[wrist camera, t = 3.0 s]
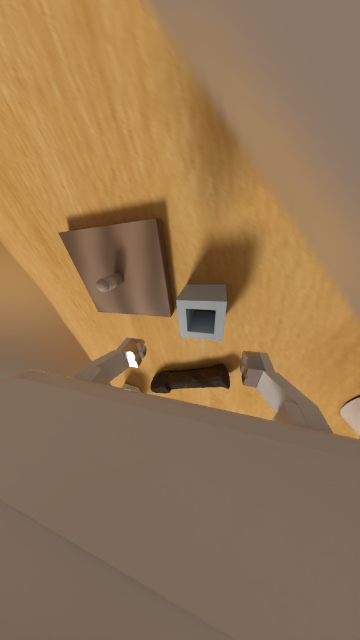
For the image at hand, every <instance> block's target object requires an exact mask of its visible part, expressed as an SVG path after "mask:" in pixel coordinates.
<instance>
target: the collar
mask: <svg viewBox="0 0 360 640" xmlns="http://www.w3.org/2000/svg"><path fill="white" fill-rule="evenodd" d="M176 304H177V312H178V321H179V329H180V337H188V338H197V339H206V340H215V341H222V340H223V332H224V324H225V315H226V307H227V289H226V284H186V286H185V287H184V289H183V290H182V292H181V293H180V295H179V296H178V298H177V299H176ZM194 309H202V310H216V312H203V311H194Z"/></svg>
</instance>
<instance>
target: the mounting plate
mask: <svg viewBox="0 0 360 640" xmlns="http://www.w3.org/2000/svg"><path fill="white" fill-rule="evenodd" d="M59 235H60V237H61V239H62V241H63V243H64V245H65V247H66V249H67V251H68V253H69V255H70V257H71V259H72V261H73V263H74V265H75V267H76V269H77V271H78V273H79V275H80V277H81V279H82V281H83V282H84V284H85V286H86V288H87V290H88V292H89V294H90V296H91V298H92V300H93V302H94V304H95V306H96V308H97V310H98V312H108V313H122V314H136V315H150V316H164V317H171V316H172V314H173V313H174V310H173V302H172V295H171V288H170V280H169V273H168V266H167V258H166V251H165V243H164V236H163V229H162V221H161V219H157V218H155V219H148V220H141V221H135V222H128V223H121V224H114V225H108V226H101V227H94V228H87V229H80V230H74V231H67V232H60V233H59Z"/></svg>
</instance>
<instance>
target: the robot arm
mask: <svg viewBox="0 0 360 640" xmlns="http://www.w3.org/2000/svg"><path fill="white" fill-rule="evenodd" d="M144 343H145V342H144V340H141V339H134V338H126V339H125V341H124V342H123V343H122V344H121V345H120V346H119V347H118V348H117V350H114V351H112V352H110V353H108V354H106V355H104V356H102V357H100V358H98V359H96V360H94V361H92V362H90V363H88V364H86V365H85V366H84V367H83V368H82V369H81V370H80V371H79V372H78V373H77V374H76V375H75V376H74V377H73V378H72V377H67V376H63V375H58V374H54V373H48V372H44V371H40V370H34V369H33V370H28V371H25V372H23V373H19V374H17V375H14V376H12V377H10V378H7V379H5V380H2V381H0V640H360V439H356V438H351V437H346V436H342V435H337V434H333V432H332V430H331V429H330V427H329V425H328V424H327V422H326V420H325V418H324V417H323V415H322V413H321V412H320V410H319V408H318V406H316V405H315V404H314V403H313V402H312V401H311V400H309V399H308V398H307V397H306V396H305V395H303V394H302V393H301V392H300V391H299V390H298V389H296V388H295V387H294V386H293V385H292V384H290V383H289V382H288V381H287V380H286V379H285V378H283V377H282V376H281V375H280V374H279V373H275V370H274V368H273V366H272V363H271V361H270V359H269V356H268V354H267V353H261V352H251V351H243V352H242V358H241V360H240V370H241V372H242V382H243V385H246V386H251V387H256V388H257V390H258V391H259V392H260V394H261V395H262V396H263V398H264V399H265V400H266V401H267V403H268V404H269V405H270V407H271V408H272V409H273V411H274V412H275V413H276V415H275V416H274V418H273V419H272V420H267V419H263V418H258V417H253V416H249V415H244V414H239V413H235V412H230V411H225V410H221V409H216V408H212V407H207V406H202V405H198V404H193V403H188V402H184V401H179V400H174V399H170V398H165V397H160V396H156V395H151V394H146V393H142V392H137V391H132V390H128V389H123V388H118V387H114V386H112V385H111V383H110V381H111V380H113V379H114V378H115V377H117V376H118V375H119V374H121V373H122V372H123V371H124V370H126V369H127V368H128V367H129V366H131V367H139V365H140V363H141V362H142V360H141V359H142V358H144V357H145V355H146V346H145V345H144ZM341 417H342V418H343V419H344V420H345V421H346V422H347V423H348V424H349V425H350V426H351V427H352V428H353V430H354V431H355V432H356V433H357V434H358V435H359V436H360V397H359V398H357V399H354V400H352V401H350V402H349V403H347V404H346V405H345V406H344V407H343V408H342V409H341Z"/></svg>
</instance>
